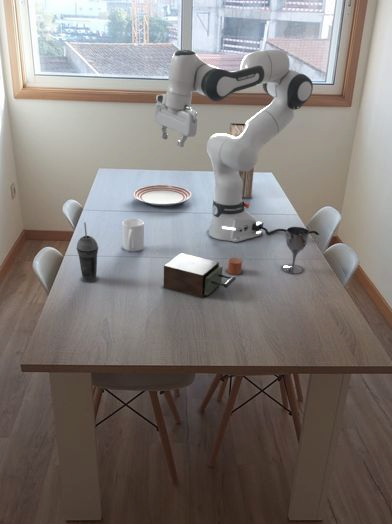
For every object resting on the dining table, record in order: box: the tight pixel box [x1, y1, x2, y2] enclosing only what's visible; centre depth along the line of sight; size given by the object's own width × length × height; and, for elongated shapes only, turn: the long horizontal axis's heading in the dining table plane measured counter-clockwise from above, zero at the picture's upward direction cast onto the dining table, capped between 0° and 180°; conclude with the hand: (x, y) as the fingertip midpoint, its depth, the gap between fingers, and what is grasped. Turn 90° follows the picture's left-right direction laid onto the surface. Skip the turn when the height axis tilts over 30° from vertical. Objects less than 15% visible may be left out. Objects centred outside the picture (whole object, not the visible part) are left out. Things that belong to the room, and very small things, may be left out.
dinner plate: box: [133, 184, 192, 207], centre depth 276 cm, size 28×27×3 cm
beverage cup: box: [76, 222, 99, 283], centre depth 196 cm, size 7×7×20 cm
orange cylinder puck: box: [227, 257, 243, 276], centre depth 210 cm, size 5×5×4 cm
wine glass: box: [282, 226, 310, 274], centre depth 211 cm, size 8×8×15 cm
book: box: [229, 122, 255, 200], centre depth 286 cm, size 25×9×30 cm, turn 4°
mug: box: [121, 218, 145, 253], centre depth 222 cm, size 12×8×10 cm
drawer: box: [203, 265, 236, 297], centre depth 196 cm, size 19×11×6 cm, turn 64°
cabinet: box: [163, 252, 220, 298], centre depth 198 cm, size 15×13×8 cm
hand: (172, 142), depth 209 cm, fingers open, 8 cm apart
